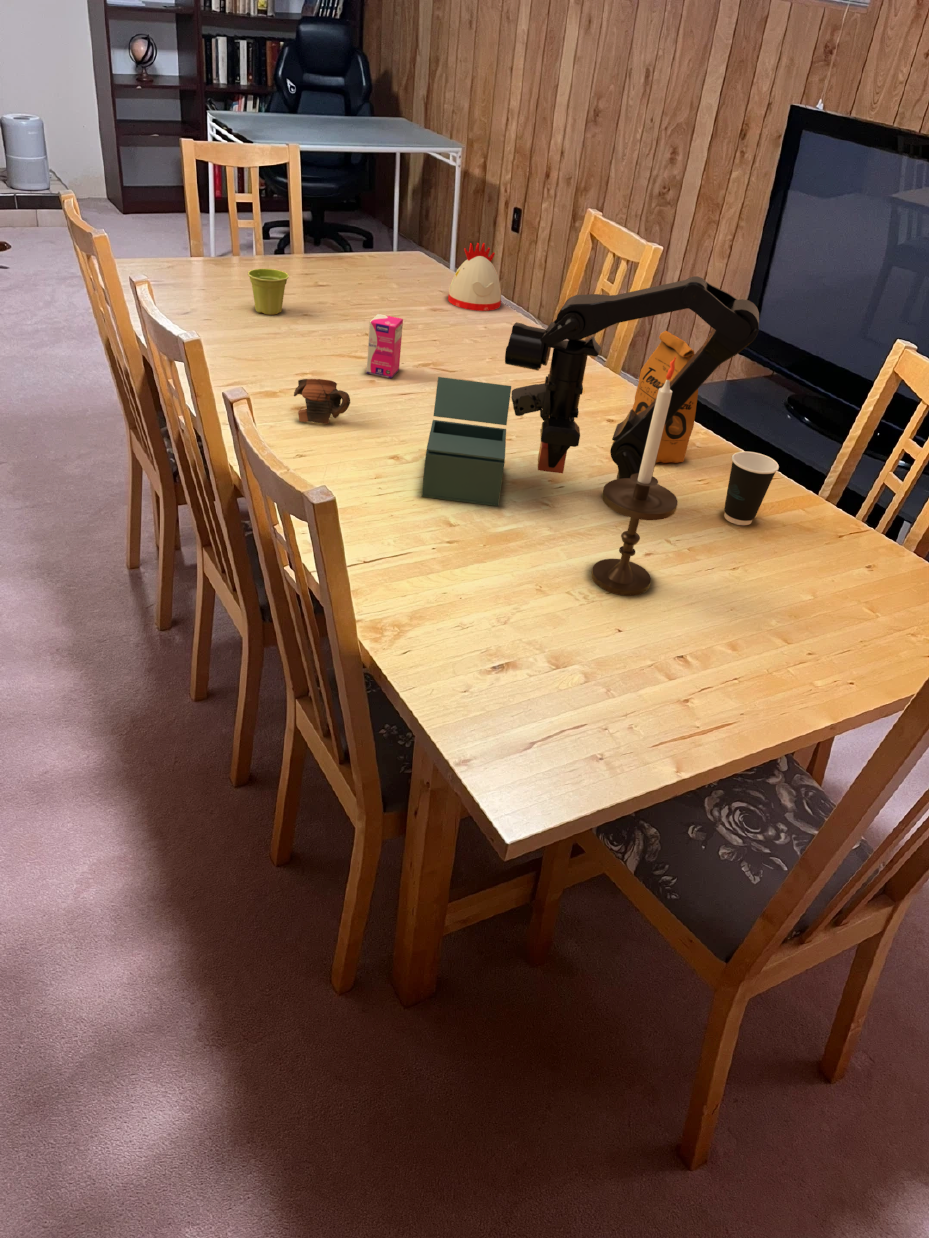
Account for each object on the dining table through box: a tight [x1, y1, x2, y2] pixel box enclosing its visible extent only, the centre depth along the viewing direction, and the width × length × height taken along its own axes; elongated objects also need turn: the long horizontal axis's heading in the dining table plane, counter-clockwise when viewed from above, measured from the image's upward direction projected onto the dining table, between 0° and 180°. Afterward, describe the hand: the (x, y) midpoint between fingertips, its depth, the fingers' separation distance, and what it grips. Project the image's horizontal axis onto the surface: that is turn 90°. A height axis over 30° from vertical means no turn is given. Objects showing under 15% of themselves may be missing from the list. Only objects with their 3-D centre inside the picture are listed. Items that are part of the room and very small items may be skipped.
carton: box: [421, 419, 507, 507], centre depth 168 cm, size 13×14×9 cm
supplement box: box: [365, 313, 404, 379], centre depth 206 cm, size 6×6×12 cm
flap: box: [433, 376, 512, 426], centre depth 171 cm, size 13×7×1 cm
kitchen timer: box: [447, 242, 502, 312], centre depth 253 cm, size 14×14×15 cm
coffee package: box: [631, 330, 699, 464], centre depth 185 cm, size 10×12×22 cm
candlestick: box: [590, 357, 679, 597], centre depth 140 cm, size 11×11×35 cm
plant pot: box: [247, 268, 290, 315], centre depth 231 cm, size 9×9×9 cm
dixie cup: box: [723, 450, 780, 526], centre depth 168 cm, size 8×8×11 cm
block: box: [537, 441, 568, 475], centre depth 170 cm, size 4×4×4 cm
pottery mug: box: [293, 378, 351, 425], centre depth 186 cm, size 12×10×8 cm
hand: (551, 461), depth 170 cm, fingers closed on block, 4 cm apart
